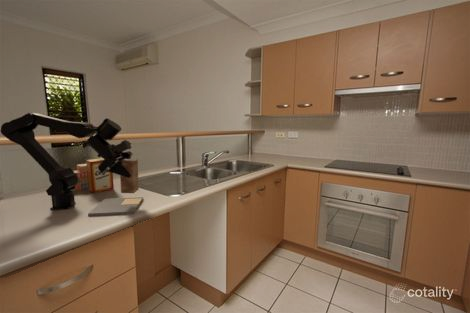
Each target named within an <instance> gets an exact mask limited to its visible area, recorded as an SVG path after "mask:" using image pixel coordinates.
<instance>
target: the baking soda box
mask: <svg viewBox="0 0 470 313" xmlns="http://www.w3.org/2000/svg"><path fill="white" fill-rule="evenodd" d="M103 161H104V159H103V158H102V157H99V158H95V159H94V158H93V159H92V158H91V159H86V160H85V164H87V175H88V186H89V189H88V191H89V192H90V193H92V194H97V193H102V192H107V191H108V192H109V191H112V190H114V189H115V188H114V176H113V175H114V173H111V172H108V170H109V167H108V168H107V171H106V172H103V173H102V172H101V171H100V170H98V166H99V165H100V164H101V163H102V162H103Z"/></svg>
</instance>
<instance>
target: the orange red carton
mask: <svg viewBox="0 0 470 313" xmlns="http://www.w3.org/2000/svg"><path fill="white" fill-rule="evenodd" d="M76 168H77V170H73V172H74V173H76V174H77V175H76V176H77V177H78V182H77V184H76V185H75V189H73V190H70V191H72V192H76V191H82V190H87V189H88V190H89V186H88V175H87V164H86V163H81V164H76Z"/></svg>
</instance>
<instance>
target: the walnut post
mask: <svg viewBox="0 0 470 313" xmlns="http://www.w3.org/2000/svg"><path fill="white" fill-rule="evenodd" d="M138 162H139V159H138V158H137V159H135V158H130V159H124V160H122V166H123V167H124V168H125V169H126V170H127V171H128V173H129V174H130V175H131V177H130V178H127V177H124V176H121V175H119V176H120V178H119V179H120V193H121V194H135V193H136V192H137V191H139V189H140V188H139V163H138Z"/></svg>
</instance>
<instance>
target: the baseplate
mask: <svg viewBox="0 0 470 313" xmlns="http://www.w3.org/2000/svg"><path fill="white" fill-rule="evenodd" d="M143 200H144V197H120V198H119V197H118V198H117V197H116V198H104V199H103V200H102V201H100V203H99V204H97V205H96V206H95V207H94V208H93V209H91V210H90V211H89V212H88V214H87V216H88V217H94V216H95V217H96V216H98V217H99V216H116V215H117V216H118V215H132V214H133V215H134V214H135V213H136V211H137V210H138V208H139V206H140V205H141V204H142V202H143Z"/></svg>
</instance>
